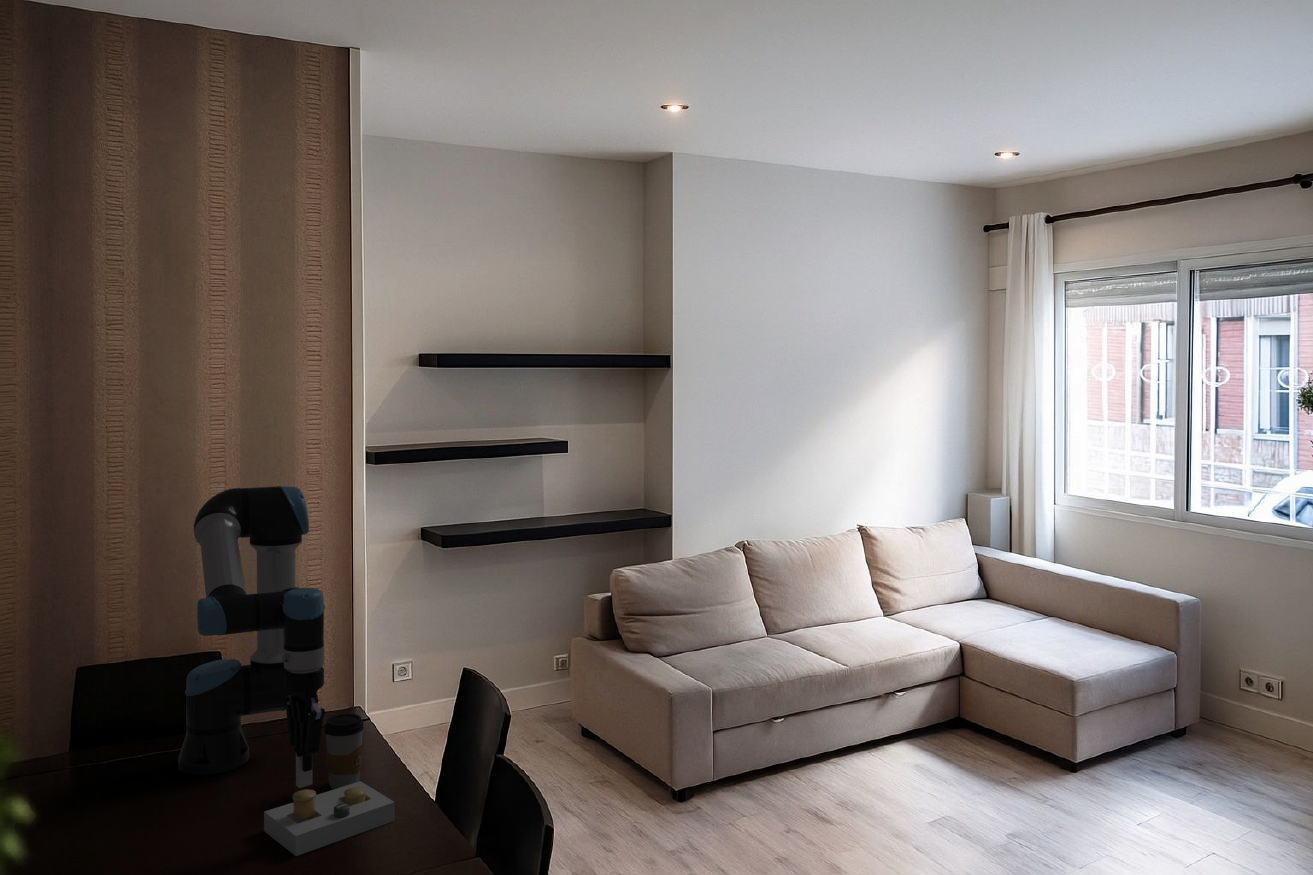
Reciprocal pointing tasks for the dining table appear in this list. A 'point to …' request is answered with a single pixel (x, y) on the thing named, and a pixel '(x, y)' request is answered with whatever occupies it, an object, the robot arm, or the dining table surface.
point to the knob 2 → (354, 795)
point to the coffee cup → (344, 749)
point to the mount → (328, 820)
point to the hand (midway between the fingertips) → (304, 784)
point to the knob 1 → (304, 803)
